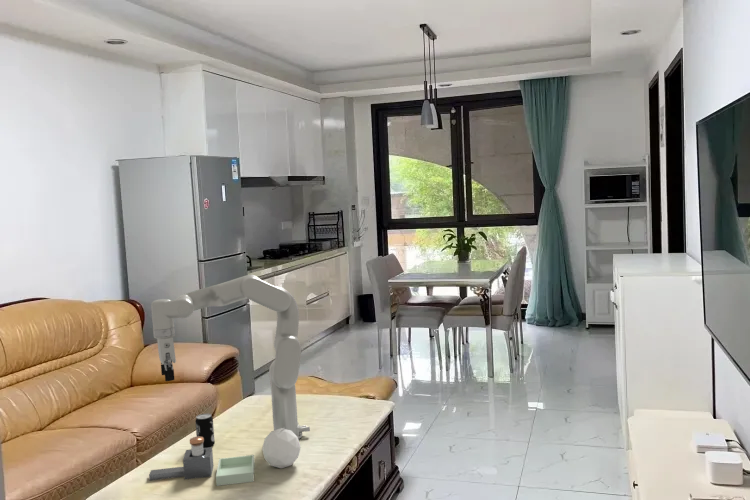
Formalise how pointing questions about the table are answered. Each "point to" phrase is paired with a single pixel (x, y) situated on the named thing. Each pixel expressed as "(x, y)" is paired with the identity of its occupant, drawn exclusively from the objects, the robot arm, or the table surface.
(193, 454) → the pin
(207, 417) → the beverage can
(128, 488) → the table surface
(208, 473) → the hitch block
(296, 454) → the geodesic sphere
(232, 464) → the tray
